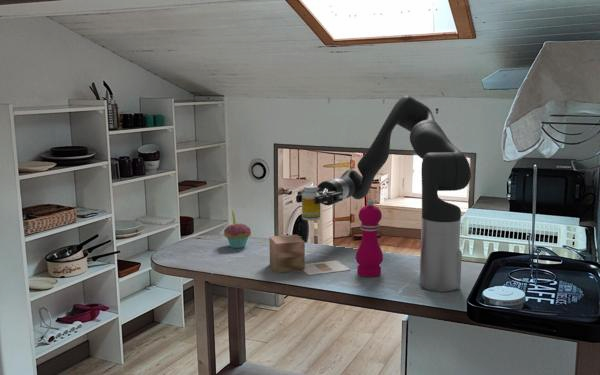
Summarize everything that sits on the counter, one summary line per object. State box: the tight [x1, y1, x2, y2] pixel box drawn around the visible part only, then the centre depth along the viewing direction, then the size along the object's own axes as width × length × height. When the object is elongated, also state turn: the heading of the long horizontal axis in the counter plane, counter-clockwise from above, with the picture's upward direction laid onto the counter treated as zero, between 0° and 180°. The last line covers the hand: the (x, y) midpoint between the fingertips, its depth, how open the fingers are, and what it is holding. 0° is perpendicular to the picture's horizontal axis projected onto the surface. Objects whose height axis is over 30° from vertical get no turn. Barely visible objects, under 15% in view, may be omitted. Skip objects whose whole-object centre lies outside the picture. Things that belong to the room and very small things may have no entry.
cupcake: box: [223, 209, 252, 249], centre depth 175 cm, size 9×8×12 cm
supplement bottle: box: [301, 185, 321, 222], centre depth 162 cm, size 5×5×10 cm
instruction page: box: [302, 260, 351, 276], centre depth 153 cm, size 12×9×1 cm
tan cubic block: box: [269, 234, 306, 274], centre depth 154 cm, size 8×8×8 cm
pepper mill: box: [355, 199, 384, 278], centre depth 147 cm, size 7×7×20 cm
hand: (306, 199), depth 160 cm, fingers closed on supplement bottle, 5 cm apart
